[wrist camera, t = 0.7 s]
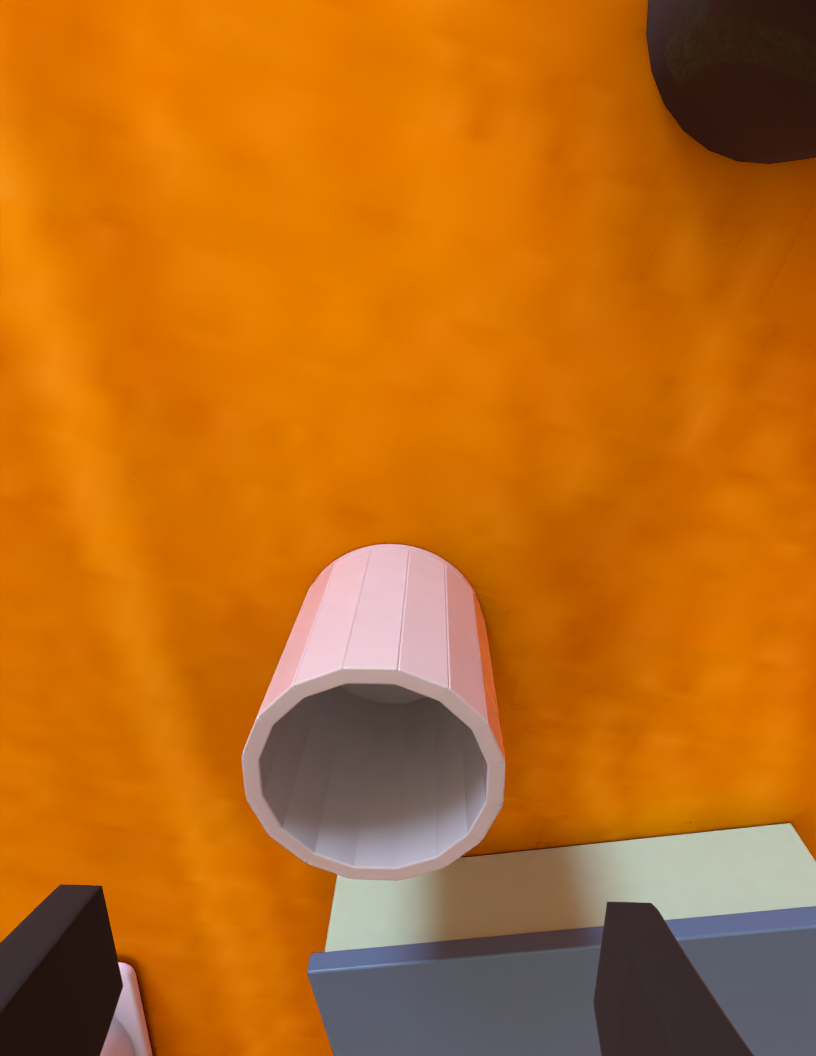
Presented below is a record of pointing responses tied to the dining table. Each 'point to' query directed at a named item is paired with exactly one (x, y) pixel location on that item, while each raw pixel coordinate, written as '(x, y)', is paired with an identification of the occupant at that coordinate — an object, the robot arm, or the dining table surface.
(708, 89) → the cup
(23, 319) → the dining table surface
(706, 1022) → the robot arm
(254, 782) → the white cylindrical tumbler
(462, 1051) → the blue hardcover book
